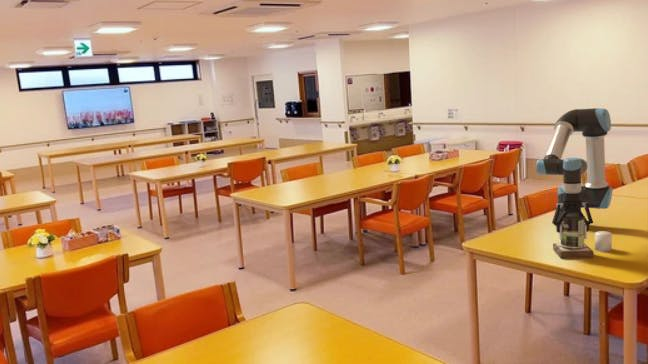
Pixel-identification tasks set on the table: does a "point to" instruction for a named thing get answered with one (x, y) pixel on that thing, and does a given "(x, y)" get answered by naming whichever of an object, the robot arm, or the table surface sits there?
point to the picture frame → (572, 251)
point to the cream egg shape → (603, 241)
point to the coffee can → (572, 231)
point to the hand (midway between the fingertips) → (572, 238)
